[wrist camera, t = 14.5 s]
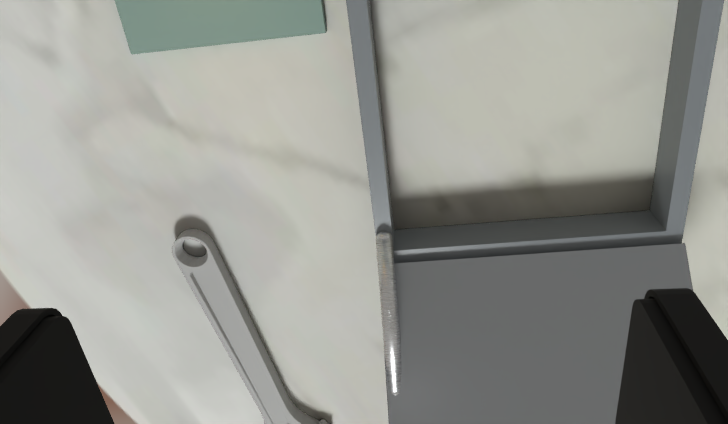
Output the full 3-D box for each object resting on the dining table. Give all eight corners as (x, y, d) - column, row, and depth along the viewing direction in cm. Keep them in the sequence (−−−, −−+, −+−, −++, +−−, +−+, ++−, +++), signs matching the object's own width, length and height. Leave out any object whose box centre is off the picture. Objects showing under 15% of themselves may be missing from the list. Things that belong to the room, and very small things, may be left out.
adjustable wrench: (171, 228, 39) (162, 242, 38) (261, 212, 38) (255, 225, 37) (276, 470, 51) (272, 488, 49) (347, 462, 50) (346, 480, 48)
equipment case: (710, -76, 28) (877, -58, 18) (645, 346, 41) (722, 488, 32) (346, -32, 30) (322, 7, 20) (394, 359, 43) (394, 498, 33)
